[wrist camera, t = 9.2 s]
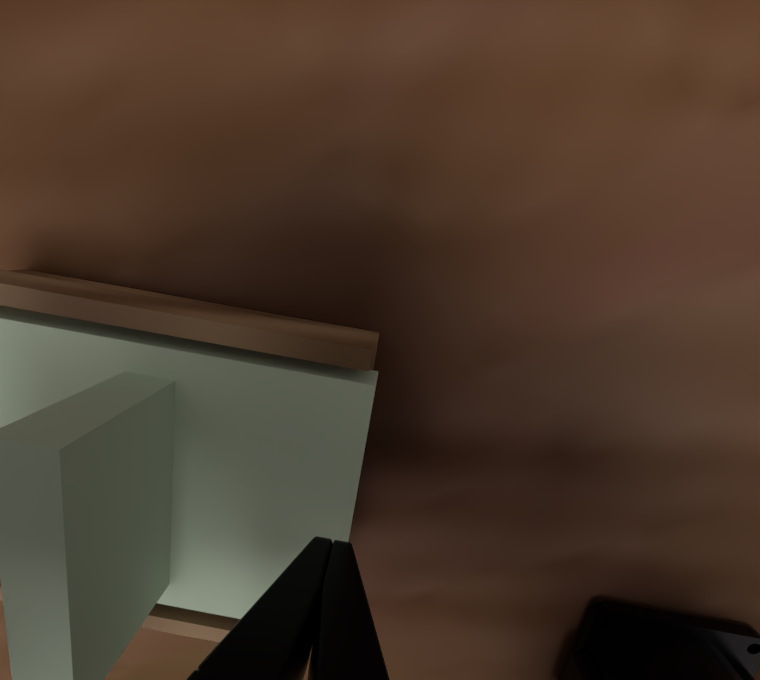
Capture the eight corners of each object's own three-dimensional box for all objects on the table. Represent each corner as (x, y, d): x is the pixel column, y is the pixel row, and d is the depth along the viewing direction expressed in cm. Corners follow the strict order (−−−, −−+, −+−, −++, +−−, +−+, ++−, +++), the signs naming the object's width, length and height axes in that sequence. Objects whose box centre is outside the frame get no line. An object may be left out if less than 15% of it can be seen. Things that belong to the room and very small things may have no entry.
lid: (378, 371, 9) (361, 461, 5) (337, 602, 11) (303, 791, 7) (-99, 285, 9) (-444, 313, 6) (-60, 527, 11) (-298, 673, 8)
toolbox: (382, 314, 12) (373, 349, 8) (342, 544, 14) (319, 661, 10) (25, 251, 12) (-162, 254, 8) (43, 488, 15) (-96, 582, 11)
